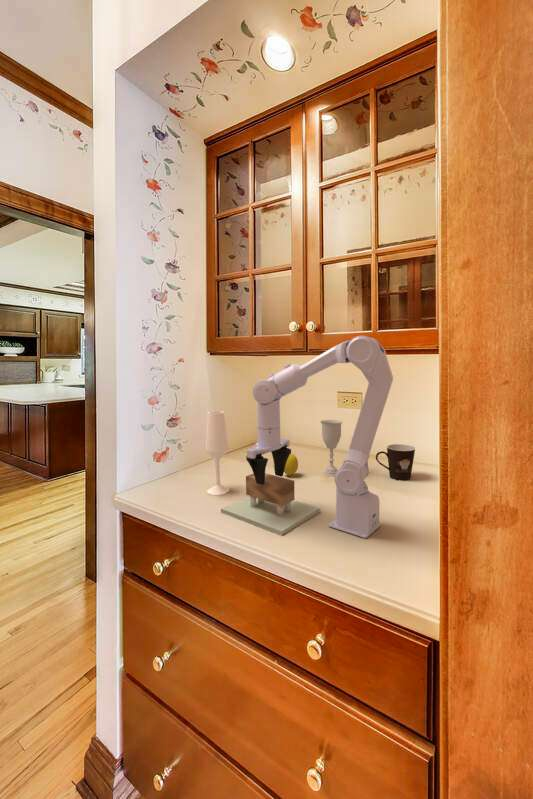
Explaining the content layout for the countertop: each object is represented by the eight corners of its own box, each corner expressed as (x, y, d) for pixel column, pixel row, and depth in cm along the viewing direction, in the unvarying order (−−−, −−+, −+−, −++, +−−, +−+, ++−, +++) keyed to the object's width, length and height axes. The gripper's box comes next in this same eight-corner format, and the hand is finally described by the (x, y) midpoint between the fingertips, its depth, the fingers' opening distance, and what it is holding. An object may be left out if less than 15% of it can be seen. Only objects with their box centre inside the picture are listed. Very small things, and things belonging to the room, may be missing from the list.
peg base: (319, 511, 95) (319, 496, 94) (281, 535, 83) (281, 518, 82) (261, 493, 108) (261, 480, 107) (221, 512, 96) (220, 497, 95)
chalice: (341, 470, 127) (341, 419, 125) (343, 477, 121) (343, 423, 118) (319, 470, 128) (319, 419, 126) (320, 477, 121) (320, 423, 119)
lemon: (288, 472, 127) (287, 449, 126) (301, 475, 124) (301, 452, 123) (278, 476, 123) (278, 453, 122) (291, 479, 119) (291, 455, 118)
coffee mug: (415, 475, 122) (415, 445, 121) (413, 483, 114) (414, 452, 113) (378, 470, 127) (379, 442, 125) (374, 478, 119) (375, 448, 118)
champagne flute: (220, 496, 106) (217, 414, 103) (202, 492, 110) (199, 413, 107) (234, 489, 112) (231, 411, 109) (216, 485, 115) (213, 409, 113)
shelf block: (294, 499, 93) (294, 480, 92) (282, 506, 89) (282, 486, 88) (258, 489, 101) (258, 471, 100) (246, 494, 97) (245, 476, 96)
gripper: (274, 421, 101) (275, 469, 102) (237, 430, 90) (238, 484, 91) (295, 424, 96) (296, 474, 98) (258, 433, 85) (260, 490, 87)
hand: (269, 479), depth 94 cm, fingers open, 7 cm apart
